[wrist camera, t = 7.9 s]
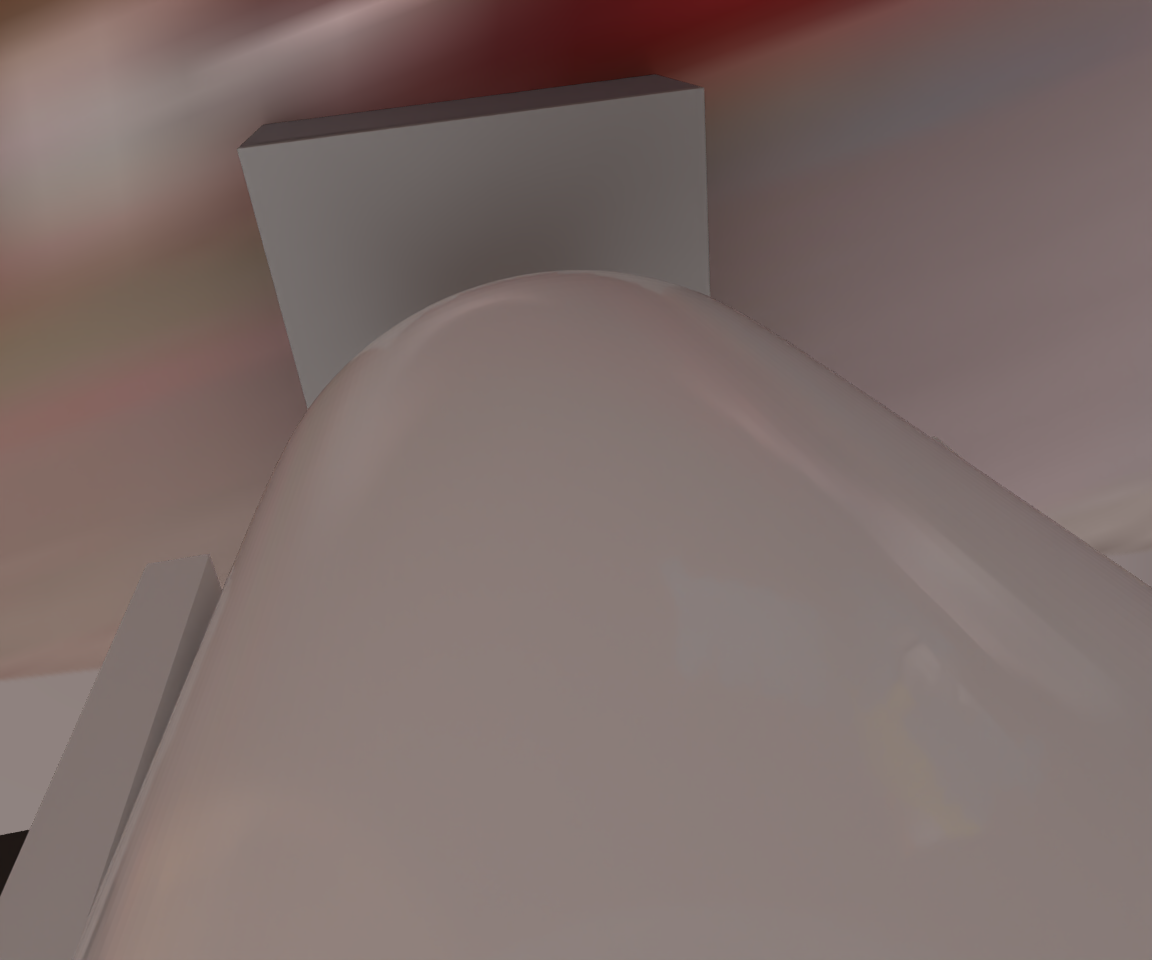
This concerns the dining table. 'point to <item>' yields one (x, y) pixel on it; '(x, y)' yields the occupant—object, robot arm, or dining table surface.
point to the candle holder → (641, 671)
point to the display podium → (473, 203)
